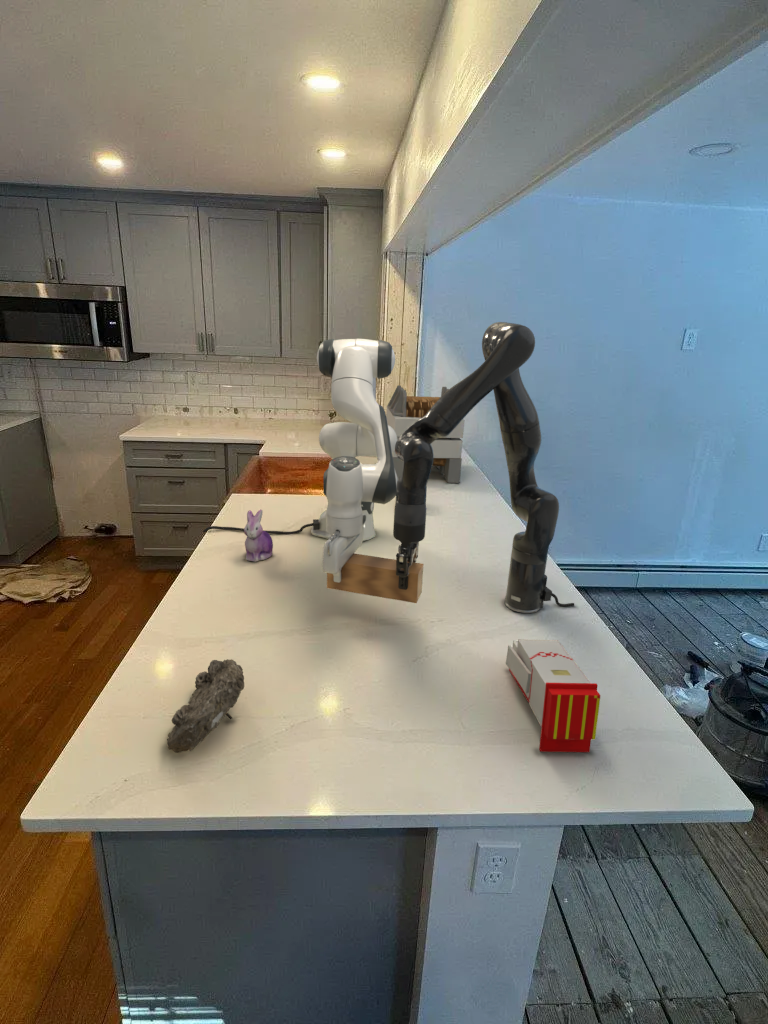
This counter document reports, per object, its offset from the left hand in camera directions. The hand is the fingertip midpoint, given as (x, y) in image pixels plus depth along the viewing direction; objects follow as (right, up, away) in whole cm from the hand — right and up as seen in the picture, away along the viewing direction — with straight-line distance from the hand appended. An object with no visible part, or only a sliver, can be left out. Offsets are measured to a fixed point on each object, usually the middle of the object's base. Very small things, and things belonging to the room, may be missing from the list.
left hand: (343, 574), depth 143 cm
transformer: (+28, +35, +132) cm, 139 cm away
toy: (+43, -23, -27) cm, 56 cm away
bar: (+8, -4, -1) cm, 9 cm away
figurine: (-29, +2, +34) cm, 45 cm away
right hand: (+16, -1, -4) cm, 16 cm away
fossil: (-22, -23, -35) cm, 48 cm away
